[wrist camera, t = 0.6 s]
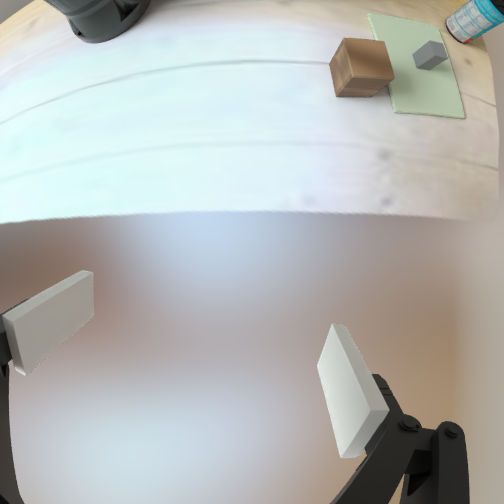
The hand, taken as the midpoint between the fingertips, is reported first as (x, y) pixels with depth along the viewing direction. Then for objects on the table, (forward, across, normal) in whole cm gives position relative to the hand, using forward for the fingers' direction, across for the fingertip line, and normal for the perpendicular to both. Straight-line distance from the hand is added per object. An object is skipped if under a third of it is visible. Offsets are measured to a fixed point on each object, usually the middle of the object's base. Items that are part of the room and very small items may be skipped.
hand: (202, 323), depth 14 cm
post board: (+26, +22, +33) cm, 48 cm away
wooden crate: (+26, +11, +26) cm, 38 cm away
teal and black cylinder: (+26, +31, +47) cm, 62 cm away
